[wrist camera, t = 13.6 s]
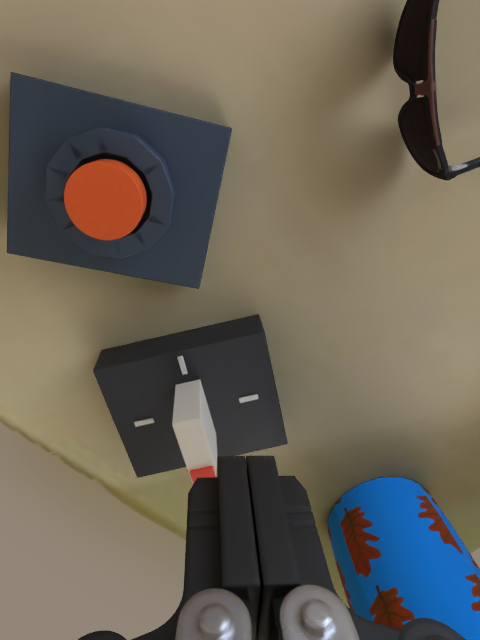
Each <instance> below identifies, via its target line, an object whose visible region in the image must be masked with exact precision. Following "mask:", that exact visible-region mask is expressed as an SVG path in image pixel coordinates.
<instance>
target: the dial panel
mask: <svg viewBox="0 0 480 640" xmlns="http://www.w3.org/2000/svg"><path fill="white" fill-rule="evenodd" d="M93 372H94V374H95V377H96V379H97V381H98V384H99V386H100V389H101V391H102V393H103V396H104V398H105V401H106V403H107V405H108V408H109V410H110V413H111V415H112V418H113V420H114V422H115V425H116V427H117V430H118V432H119V434H120V437H121V439H122V442H123V444H124V446H125V449H126V451H127V454H128V456H129V459H130V461H131V463H132V466H133V468H134V471H135V473H136V475H137V477H143V476H147V475H152V474H156V473H160V472H165V471H169V470H174V469H178V468H183V467H186V464H185V461H184V458H183V455H182V452H181V450H180V447H179V444H178V441H177V438H176V435H175V432H174V429H173V426H172V420H173V409H174V397H175V386H176V385H177V384H182V383H186V382H191V381H195V380H199V379H200V380H201V384H202V387H203V390H204V394H205V397H206V401H207V404H208V408H209V411H210V414H211V418H212V421H213V425H214V428H215V432H216V439H217V457H218V456H236V455H240V454H245V453H249V452H253V451H258V450H262V449H267V448H271V447H275V446H280V445H284V444H287V438H286V434H285V429H284V424H283V419H282V414H281V409H280V405H279V400H278V395H277V390H276V385H275V381H274V376H273V371H272V366H271V361H270V356H269V352H268V347H267V342H266V337H265V332H264V329H263V326H262V323H261V320H260V317H259V315H254V316H249V317H245V318H241V319H236V320H232V321H227V322H223V323H219V324H214V325H210V326H206V327H201V328H197V329H192V330H188V331H184V332H179V333H175V334H170V335H166V336H162V337H157V338H153V339H149V340H144V341H140V342H135V343H131V344H127V345H122V346H118V347H114V348H109V349H105V350H102V351H101V353H100V356H99V358H98V360H97V363H96V365H95V367H94V370H93Z"/></svg>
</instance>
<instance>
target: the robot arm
mask: <svg viewBox="0 0 480 640" xmlns="http://www.w3.org/2000/svg"><path fill="white" fill-rule="evenodd" d="M184 575H185V576H184V591H183V596H182V600H181V602H180V605H179V607H178V609H177V610H176V612H175V613H174V614H173V616H172V617H171V618H170V619H169V620H168V621H167V622H166V623H165V624H163V625H162V626H160V627H159V628H158V629H155V630H153V631H151V632H149V633H147V634H144V635H142V636H139V637H137V638H134V639H132V640H466V639H465V638H463V637H462V636H461V635H460V634H458V633H457V632H456V631H455V630H453V629H452V628H450V627H449V626H447V625H446V624H444V623H442V622H439V621H437V620H434V619H430V618H416V619H413V620H411V621H409V622H407V623H406V624H405V625H404V626H403V628H402V630H399V629H395V628H392V627H389V626H386V625H382V624H379V623H376V622H372V621H370V620H367V619H364V618H363V617H361V616H359V615H357V614H356V613H354V612H353V611H352V610H350V609H349V608H348V607H347V606H346V605H345V604H344V603H343V602H342V600H341V599H340V598H339V596H338V595H337V593H336V591H335V589H334V587H333V584H332V581H331V578H330V574H329V570H328V567H327V563H326V560H325V556H324V553H323V549H322V545H321V542H320V538H319V535H318V531H317V528H316V527H315V520H314V517H313V513H312V512H311V506H310V503H309V499H308V495H307V492H306V490H305V489H304V487H303V486H302V485H301V484H300V482H299V481H298V480H297V479H296V478H295V476H278V472H277V467H276V462H275V458H274V456H246V460H245V457H244V456H218V457H217V476H216V477H202V478H197V479H196V481H195V483H194V484H193V486H192V488H191V490H190V491H189V493H188V513H187V533H186V554H185V574H184ZM78 640H126V639H125V638H124V637H123V636H121V635H120V634H118V633H115V632H112V631H96V632H93V633H90V634H87V635H85V636H83V637H81V638H80V639H78Z"/></svg>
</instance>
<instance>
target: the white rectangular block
mask: <svg viewBox="0 0 480 640" xmlns="http://www.w3.org/2000/svg"><path fill="white" fill-rule="evenodd" d="M172 426H173V429H174V432H175V435H176V438H177V441H178V444H179V447H180V450H181V452H182V455H183V458H184V461H185V464H186V467H187V470H188V473H189V476H190V479H191V482H192V484H194V483H195V481H196V479H197V478H202V477H216V476H217V439H216V432H215V428H214V425H213V421H212V418H211V414H210V411H209V408H208V404H207V401H206V397H205V394H204V390H203V387H202V384H201V380H200V379H199V380H195V381H191V382H186V383H182V384H177V385H176V386H175V397H174V409H173V420H172Z"/></svg>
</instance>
